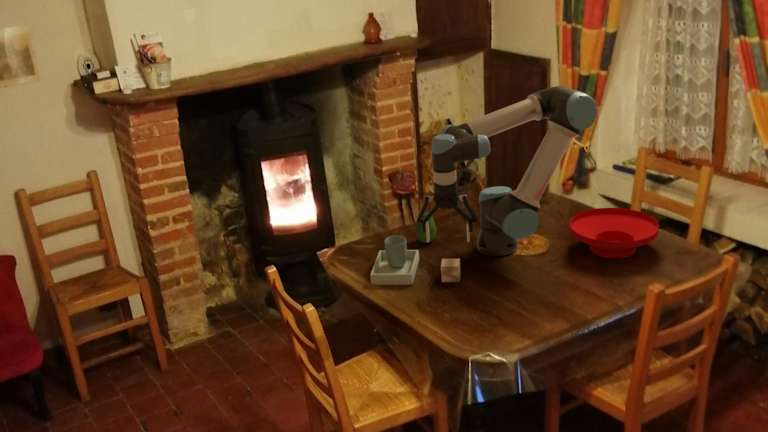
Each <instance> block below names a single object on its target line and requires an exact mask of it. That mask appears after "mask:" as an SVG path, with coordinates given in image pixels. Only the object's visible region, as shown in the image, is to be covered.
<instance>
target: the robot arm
mask: <svg viewBox="0 0 768 432" xmlns="http://www.w3.org/2000/svg"><path fill="white" fill-rule="evenodd" d="M597 117H598V107H597V103H596V101H595V99H594V98H593V97H592V96H591V95H589V94H586V92H582V91H579V90H576V89H573V88H570V87H569V86H565V85H557V86H556V85H555V86H551V87H548V88H545V89H542V90H538V91H536V92H533V93H530V94H529V95H527V98H526V99H524V100H523V99H522V100H520V101H518V102H516V103H513V104H510V105H508V106H506V107H503V108H500V109H497V110H495V111H492V112H490V113H487V114H485V115H481V116H479V117H477V118H475V119H472V120H469V121H467V122H464V123H461V124H458V125H454V124H448V125H445V126H444V127H443V128H442V129H441V130H440V133H439V134H437V135H435V136H434V137H432V139H431V156H432V175H433V176H432V178H433V182H434V183H433V193H434V194H433V195H430V194H426V195H425V198H424V203H423V205H422V208H421V210H420V212H419V213H418V216H417V219H416V223H417V222H418V223H419V222H420V223H422V226H423V232H426V239H427V242H428V243H430V242H429V240H430V234H429V221H428V220H429V219H430V218H431V216H432V217H433V215H434V214H435V213H436V212H437V211H438V210H439V208H440V209H441V210H446V209H448V210H451V209H453V210H455V211H456V212H457V213H458V214H459V215H460V216H461V217H462V218H463V219H464V220H465V221H466V226H465V227H466V242H467V243H470V240H471V238H470V237H471V235H470V233H473V231H474V230H473V228H474V227H473V226H474V225H473V223H477V222H478V219H480V222H479V223H480V230H479V233H478V237H477V240H476V250H477V251H478V252H479V253H480V254H482V255H485V256H490V257H503V256H508V255H511V254H513V253H512V252H513V251H515V249H517V247H518V248H519V240H523V239H527V238H529V237H531V236H532V235H533V234H534V233H535V232H536V230H537V229H538V227H539V216H538V213H539V212H540V210H541V206H540V205H541V204H540V200H541V198H542V196H543V194H544V192H545V190H546V189H547V187H548V184H549V183H550V181H551V179H552V177H553V175H554V173H555V171H556V170H557V168H558V166H559V164H560V162H561V161H562V159H563V157H564V156H565V153H566V152H567V149H568V148H569V146H570V144H571V142H572V140H573V139H576V138H578V137H580V135H581V133H582V131H583V130H584V131H585V130H588V128H589V129H590V127H592V125H594V123H595V121H596V120H597ZM545 119H547V123H548V126H549V127H548V130H546V133H545V135H544V137H543V139H542V141H541V142H540V144H539V146H538V148H537V150H536V152H535V154H534V156H533V158H532V159H531V162H530V163H529V165H528V167H527V169H526V171H525V173H524V174H523V177H522V178H521V180H520V182H519V184H518V185H517V188H516V189H514V190H512V188H511V187H509V186H503V185H502V186H501V185H500V186H499V185H498V186H491V187H486V188H484V189H482V190H481V191H480V192H479V197H478V202H479V216H480V218H479V217H478V215H477V213H476V212H475V210H474V208H473V206H472V205H471V203H470V202H469V199H468V194H467V193H464V194H463V195H462V194H460V195H459V194H458V185H457V184H458V183H457V179H458V177H457V163H461V162H467V161H472V160H478V159H482V158H486V157H488V156H489V155H490V152H491V143H490V140H489V138H490V137H492V136H494V135H498V134H500V133H502V132H505V131H508V130H510V129H512V128H515V127H519V126H521V125H523V124H526V123H528V122H531V121H533V120H535V121H541V120H542V121H543V120H545ZM459 200H460V202H462V203H463V205H464V207H465V208H466V210H467V211H468V212H467V211H466V210H465V209H464V208H463V207H462V206H460V204H459ZM432 201H433V202H434V203H435V204H434V205H433V206H432V208H431V209H430V210H429V212H427V213H428V214H427V215H426V216H425V217H424V218H422V217H423V214H424V213H426V210H427V208H428V205H429V203H431V202H432ZM517 250H518V249H517ZM515 252H516V251H515Z"/></svg>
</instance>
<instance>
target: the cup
mask: <svg viewBox="0 0 768 432" xmlns="http://www.w3.org/2000/svg"><path fill="white" fill-rule="evenodd" d="M384 250H385V254H386V259H387V262H388V264H389V265H390V266H391V267H394V268H399V267H402V266H404V265H405V264H406V261H407V250H408V246H407V238H406V237H405V236H403V235H390V236H387V237H386V238H385V239H384Z"/></svg>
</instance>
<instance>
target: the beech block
mask: <svg viewBox="0 0 768 432" xmlns="http://www.w3.org/2000/svg"><path fill="white" fill-rule="evenodd" d="M440 273H441V274H440V275H441V283H460V280H461V274H462V273H461V258H442V259H441V264H440Z"/></svg>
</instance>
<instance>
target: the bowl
mask: <svg viewBox="0 0 768 432" xmlns="http://www.w3.org/2000/svg"><path fill="white" fill-rule="evenodd" d="M568 230H569V233H570V235H571V236H572V237H573V238H575V239H576V240H578V241H579V242H582V243H584V244H587V245H589V250H590V252H591V253H593V254H594V255H596V256H598V257H602V258H607V259H624V258H628V257H631V256H632V255H634V254H635V253H636V251H637V247H640V246H644V245H648V244H650V243H651V242H653V241H655V240H656V239H657V238H658V236H659V231H660V223H659V222H658V220H657V219H656V218H654V217H653V216H651V215H649V214H647V213H645V212H643V211H640V210H635V209H630V208H624V207H623V208H622V207H600V208H599V207H598V208H592V209H588V210H584V211H581V212H579V213H576V214H575V215H574V216H573V217H571V218H570V220H569V229H568Z"/></svg>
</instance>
